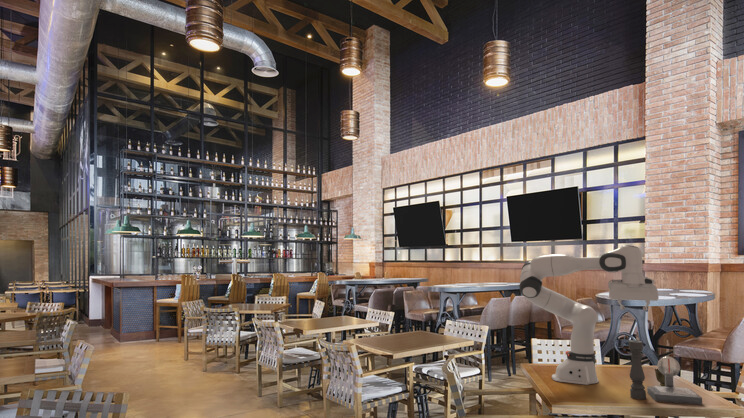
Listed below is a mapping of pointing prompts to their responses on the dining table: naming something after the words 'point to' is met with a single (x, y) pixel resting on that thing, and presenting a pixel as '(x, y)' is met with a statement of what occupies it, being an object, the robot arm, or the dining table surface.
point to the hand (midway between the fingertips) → (633, 310)
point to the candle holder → (637, 370)
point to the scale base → (671, 383)
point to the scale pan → (674, 391)
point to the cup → (660, 377)
